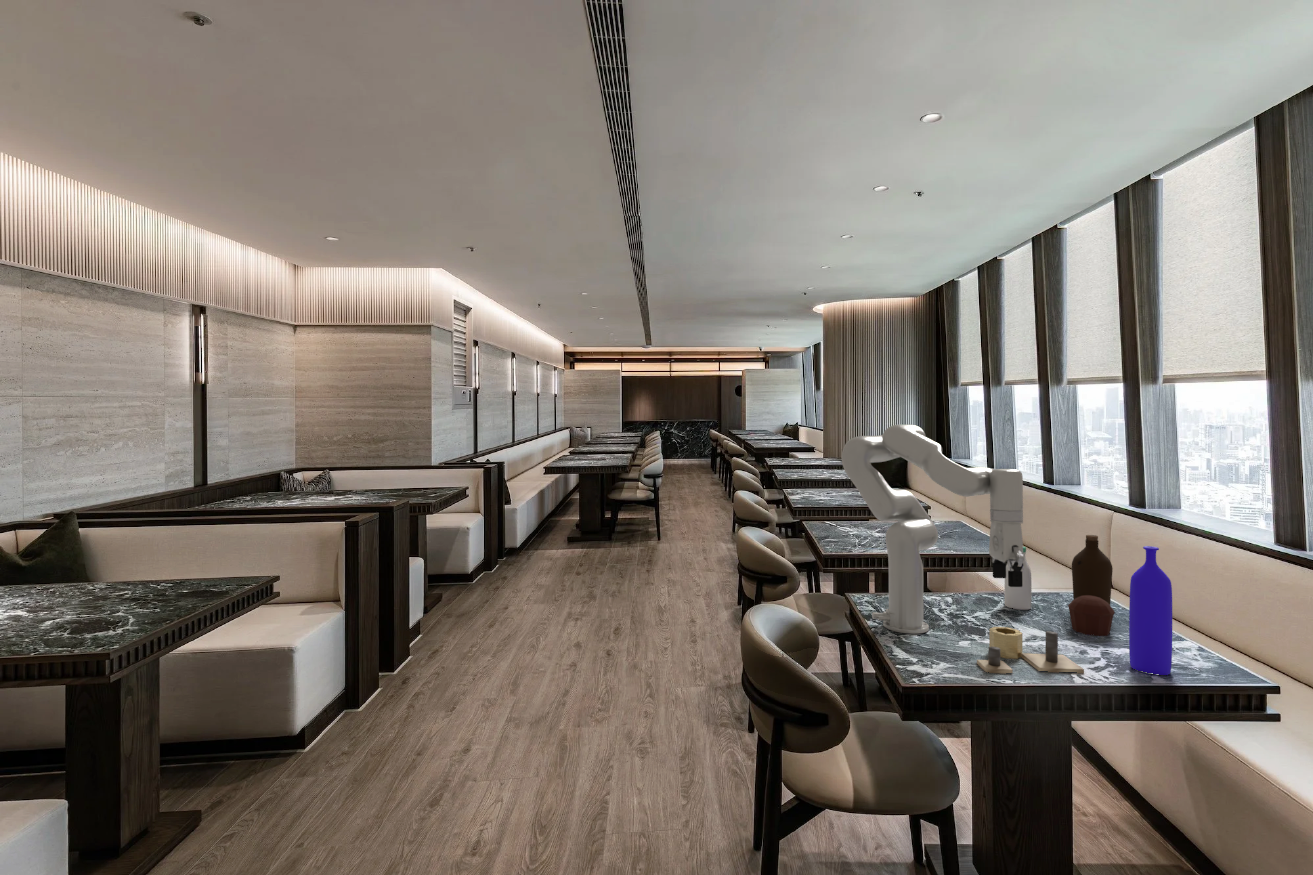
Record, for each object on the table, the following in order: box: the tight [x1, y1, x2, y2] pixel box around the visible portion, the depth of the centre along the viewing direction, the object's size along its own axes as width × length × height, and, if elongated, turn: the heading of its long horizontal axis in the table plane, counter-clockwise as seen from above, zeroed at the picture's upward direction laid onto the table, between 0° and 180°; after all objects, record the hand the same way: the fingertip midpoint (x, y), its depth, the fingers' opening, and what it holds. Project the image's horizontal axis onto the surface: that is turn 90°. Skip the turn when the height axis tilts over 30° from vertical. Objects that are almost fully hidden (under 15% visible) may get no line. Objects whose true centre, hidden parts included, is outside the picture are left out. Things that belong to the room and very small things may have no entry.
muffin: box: [1067, 595, 1116, 637], centre depth 185 cm, size 12×11×10 cm
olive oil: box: [1071, 534, 1114, 606], centre depth 201 cm, size 11×11×25 cm
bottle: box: [1128, 545, 1173, 676], centre depth 156 cm, size 8×8×30 cm
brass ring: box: [988, 626, 1024, 660], centre depth 167 cm, size 7×7×6 cm
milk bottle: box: [1004, 545, 1033, 611], centre depth 210 cm, size 8×8×20 cm
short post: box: [976, 646, 1014, 674], centre depth 157 cm, size 6×6×5 cm
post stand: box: [1020, 630, 1085, 674], centre depth 159 cm, size 10×10×8 cm
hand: (1007, 582), depth 167 cm, fingers open, 9 cm apart
